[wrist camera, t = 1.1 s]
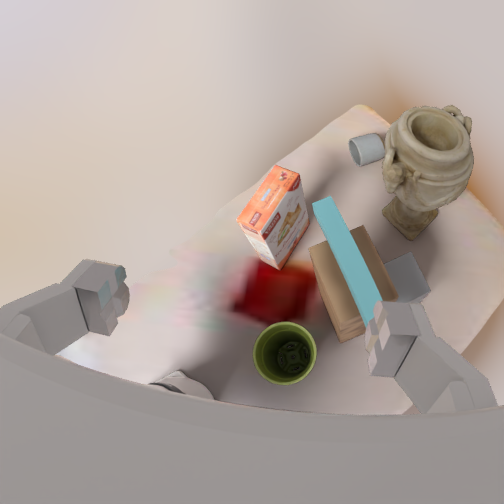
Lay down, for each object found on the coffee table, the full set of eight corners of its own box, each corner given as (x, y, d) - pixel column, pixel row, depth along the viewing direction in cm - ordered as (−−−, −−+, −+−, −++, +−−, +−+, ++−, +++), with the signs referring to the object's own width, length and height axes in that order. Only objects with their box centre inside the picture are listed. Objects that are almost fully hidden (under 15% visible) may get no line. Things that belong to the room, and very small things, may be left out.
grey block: (384, 323, 63) (396, 307, 49) (370, 291, 67) (377, 266, 53) (412, 310, 63) (430, 290, 48) (397, 278, 66) (410, 251, 52)
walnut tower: (340, 343, 65) (340, 323, 41) (320, 293, 70) (308, 248, 47) (378, 326, 64) (398, 296, 40) (356, 278, 69) (363, 225, 46)
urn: (412, 165, 76) (427, 77, 49) (463, 209, 67) (503, 130, 40) (351, 219, 75) (350, 133, 48) (405, 272, 66) (439, 204, 40)
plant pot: (294, 319, 69) (286, 308, 59) (331, 357, 64) (330, 353, 54) (255, 355, 68) (239, 351, 58) (290, 395, 63) (281, 398, 53)
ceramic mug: (386, 162, 78) (388, 143, 71) (360, 172, 79) (360, 153, 72) (367, 136, 83) (367, 117, 76) (342, 145, 84) (341, 126, 77)
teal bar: (384, 374, 37) (388, 374, 34) (314, 213, 49) (312, 203, 46) (404, 365, 37) (409, 364, 34) (331, 206, 48) (330, 195, 46)
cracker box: (282, 272, 74) (260, 233, 56) (260, 260, 77) (233, 219, 58) (312, 223, 77) (300, 172, 58) (291, 213, 80) (273, 162, 61)
